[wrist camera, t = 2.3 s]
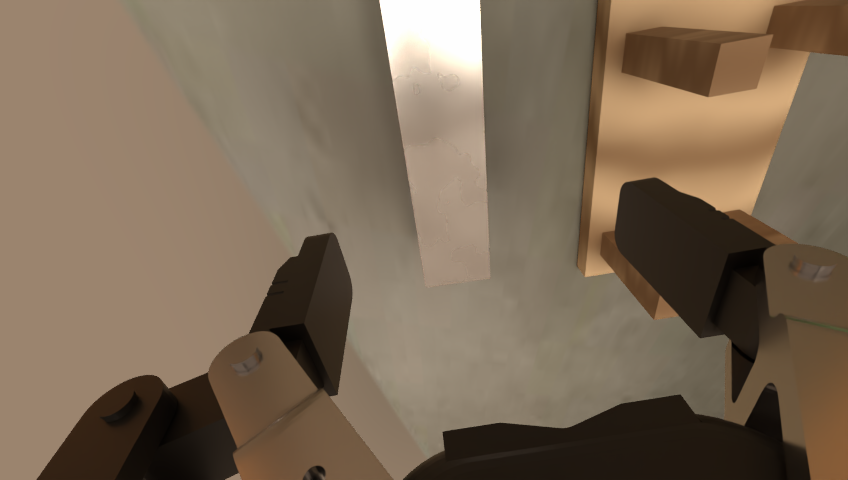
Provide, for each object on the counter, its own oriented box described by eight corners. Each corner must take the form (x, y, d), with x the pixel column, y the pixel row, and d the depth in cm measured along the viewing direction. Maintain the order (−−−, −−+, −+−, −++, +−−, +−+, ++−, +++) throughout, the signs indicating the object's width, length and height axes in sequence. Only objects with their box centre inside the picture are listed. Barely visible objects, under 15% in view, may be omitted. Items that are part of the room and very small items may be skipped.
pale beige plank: (372, -69, 19) (363, -102, 13) (451, -82, 19) (475, -119, 13) (420, 233, 28) (425, 287, 23) (471, 225, 28) (490, 278, 23)
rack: (598, -6, 20) (708, -13, 13) (818, -48, 20) (1053, -78, 13) (577, 265, 31) (632, 345, 23) (723, 241, 30) (825, 314, 23)
